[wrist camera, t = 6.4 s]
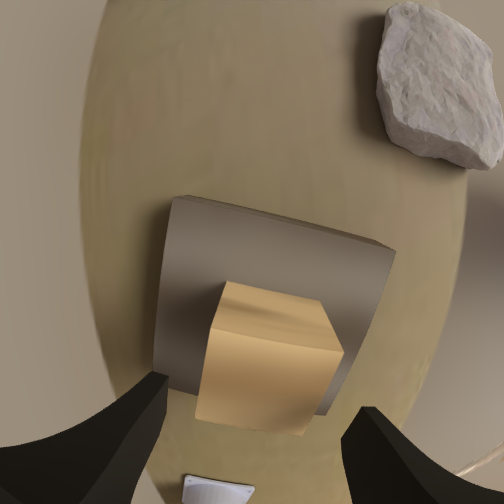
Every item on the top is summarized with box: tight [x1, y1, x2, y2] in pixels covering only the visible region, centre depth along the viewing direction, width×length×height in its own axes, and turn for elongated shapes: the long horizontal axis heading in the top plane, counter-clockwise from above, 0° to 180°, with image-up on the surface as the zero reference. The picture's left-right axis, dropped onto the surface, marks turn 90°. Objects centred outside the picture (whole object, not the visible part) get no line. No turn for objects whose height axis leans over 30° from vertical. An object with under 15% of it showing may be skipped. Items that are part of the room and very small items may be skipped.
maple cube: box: [195, 281, 344, 435], centre depth 13 cm, size 5×5×5 cm
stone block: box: [376, 1, 504, 171], centre depth 13 cm, size 12×5×10 cm
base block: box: [153, 195, 396, 416], centre depth 16 cm, size 12×12×3 cm
